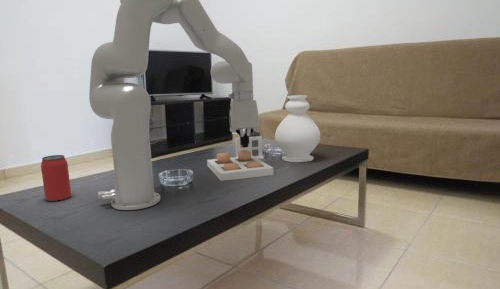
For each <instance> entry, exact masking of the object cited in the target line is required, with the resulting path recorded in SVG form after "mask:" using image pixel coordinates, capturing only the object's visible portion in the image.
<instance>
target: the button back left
mask: <svg viewBox="0 0 500 289" xmlns="http://www.w3.org/2000/svg"><path fill="white" fill-rule="evenodd" d="M230 158H231V152H219V153H216V159H217V163H220V164H226V163H230Z"/></svg>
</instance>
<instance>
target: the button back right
mask: <svg viewBox="0 0 500 289" xmlns="http://www.w3.org/2000/svg"><path fill="white" fill-rule="evenodd" d="M238 161H251V151H239V152H238Z"/></svg>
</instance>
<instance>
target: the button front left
mask: <svg viewBox="0 0 500 289" xmlns="http://www.w3.org/2000/svg"><path fill="white" fill-rule="evenodd" d="M229 170H238V164H237V163H227V164H224V171H229Z"/></svg>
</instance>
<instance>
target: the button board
mask: <svg viewBox="0 0 500 289" xmlns="http://www.w3.org/2000/svg"><path fill="white" fill-rule="evenodd" d="M251 161H258V162H260V167H256V168H247V166H246V163H247V162H250V161H238V157H236V156H234V157H231V156H230V163H237V164H238V170H229V171H224V164H220V163H217V158H213V159H206V163H207V164H206V165H207V167H208V169H210V170H211V172H212V173H213V174H214V175H215V176H216V177H217V178H218V180H219V181H220V182H224V181H234V180H242V179H249V178H250V179H251V178H261V177H266V176H267V177H268V176H274V175H275V174H274V167H273V166H271V165H269V164H267V163H266V162H264V161H262V159H260V160H259V159H257V158H256V157H254V156H251ZM226 164H227V163H226Z"/></svg>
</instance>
